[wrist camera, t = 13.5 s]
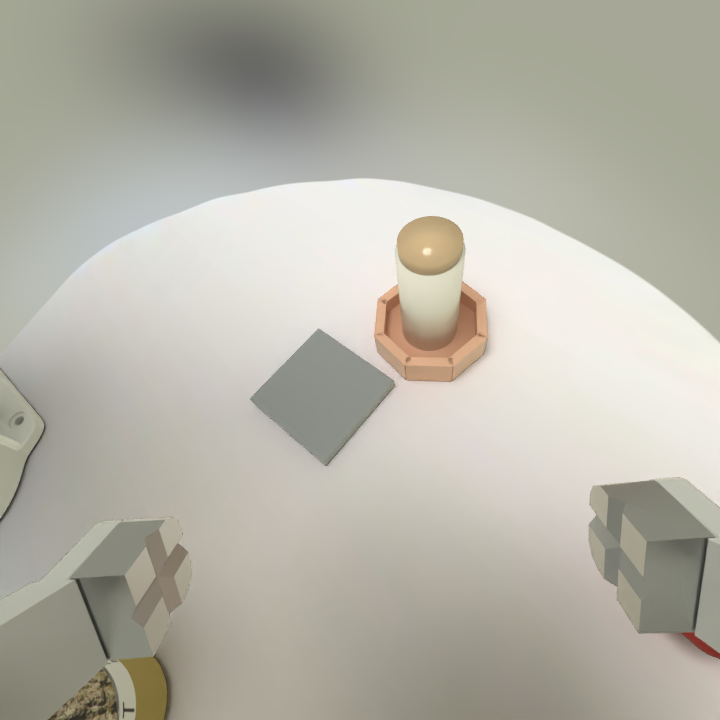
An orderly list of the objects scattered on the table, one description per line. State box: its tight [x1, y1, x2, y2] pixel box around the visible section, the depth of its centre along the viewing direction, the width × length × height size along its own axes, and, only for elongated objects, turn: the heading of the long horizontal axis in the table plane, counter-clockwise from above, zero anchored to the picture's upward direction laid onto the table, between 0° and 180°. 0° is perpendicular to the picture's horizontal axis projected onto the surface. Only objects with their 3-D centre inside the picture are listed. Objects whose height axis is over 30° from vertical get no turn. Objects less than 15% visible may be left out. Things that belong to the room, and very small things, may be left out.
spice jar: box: [395, 216, 465, 351], centre depth 34 cm, size 5×5×11 cm
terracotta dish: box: [374, 281, 487, 381], centre depth 38 cm, size 9×9×3 cm
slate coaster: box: [250, 329, 395, 466], centre depth 38 cm, size 9×9×1 cm
